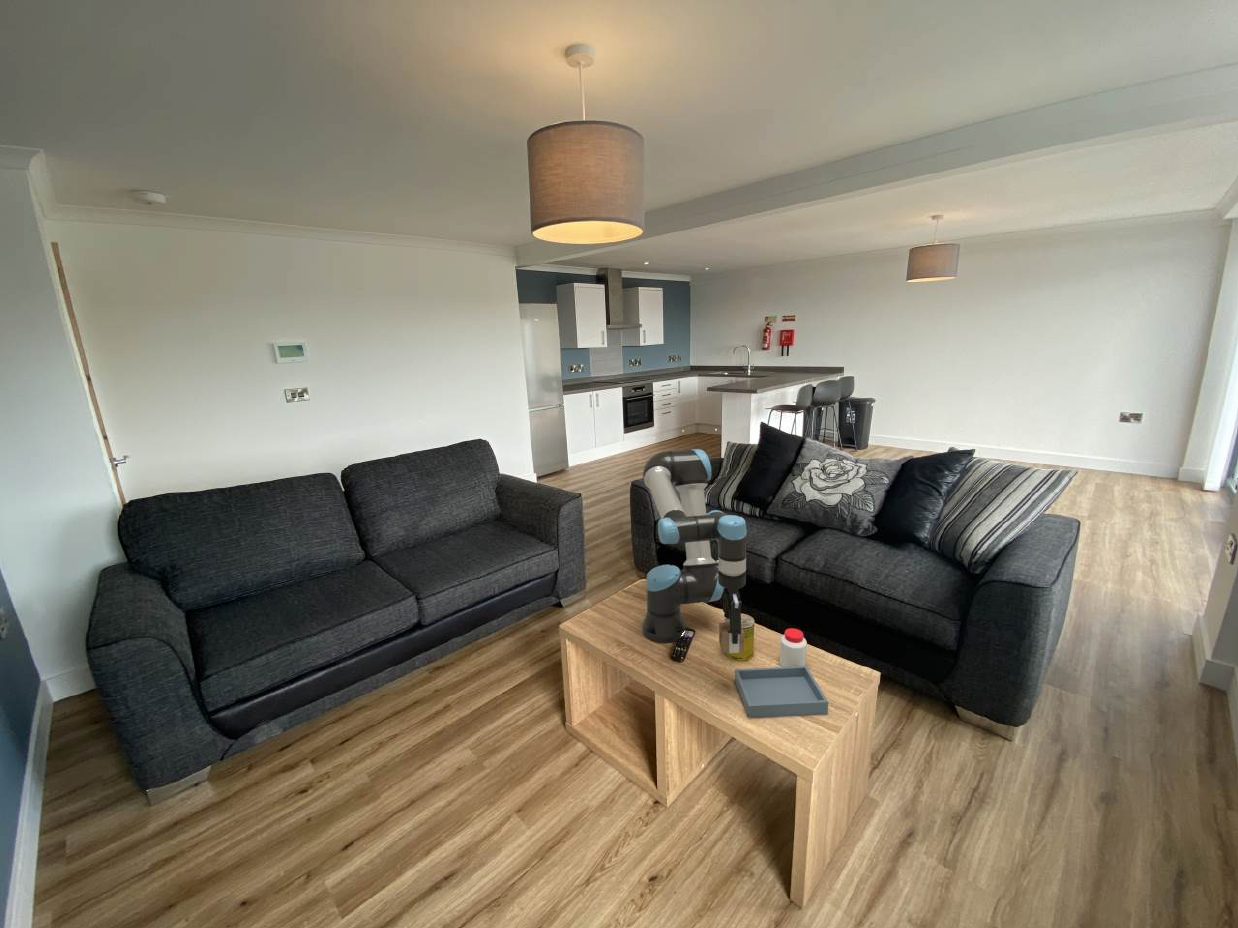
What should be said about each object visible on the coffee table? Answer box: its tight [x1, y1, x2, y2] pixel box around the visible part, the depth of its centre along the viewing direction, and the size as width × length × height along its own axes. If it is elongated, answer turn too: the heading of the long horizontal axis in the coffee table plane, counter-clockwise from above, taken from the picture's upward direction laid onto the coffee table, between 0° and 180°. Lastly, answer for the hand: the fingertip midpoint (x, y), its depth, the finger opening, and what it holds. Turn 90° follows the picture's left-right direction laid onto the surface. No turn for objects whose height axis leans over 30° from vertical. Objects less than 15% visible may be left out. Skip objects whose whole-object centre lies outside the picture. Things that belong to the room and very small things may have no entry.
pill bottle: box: [779, 627, 808, 667], centre depth 158 cm, size 8×8×11 cm
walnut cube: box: [718, 621, 744, 654], centre depth 147 cm, size 6×6×6 cm
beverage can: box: [725, 612, 755, 663], centre depth 165 cm, size 9×9×12 cm
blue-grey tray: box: [734, 665, 829, 719], centre depth 146 cm, size 16×22×4 cm
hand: (731, 645), depth 147 cm, fingers closed on walnut cube, 6 cm apart
